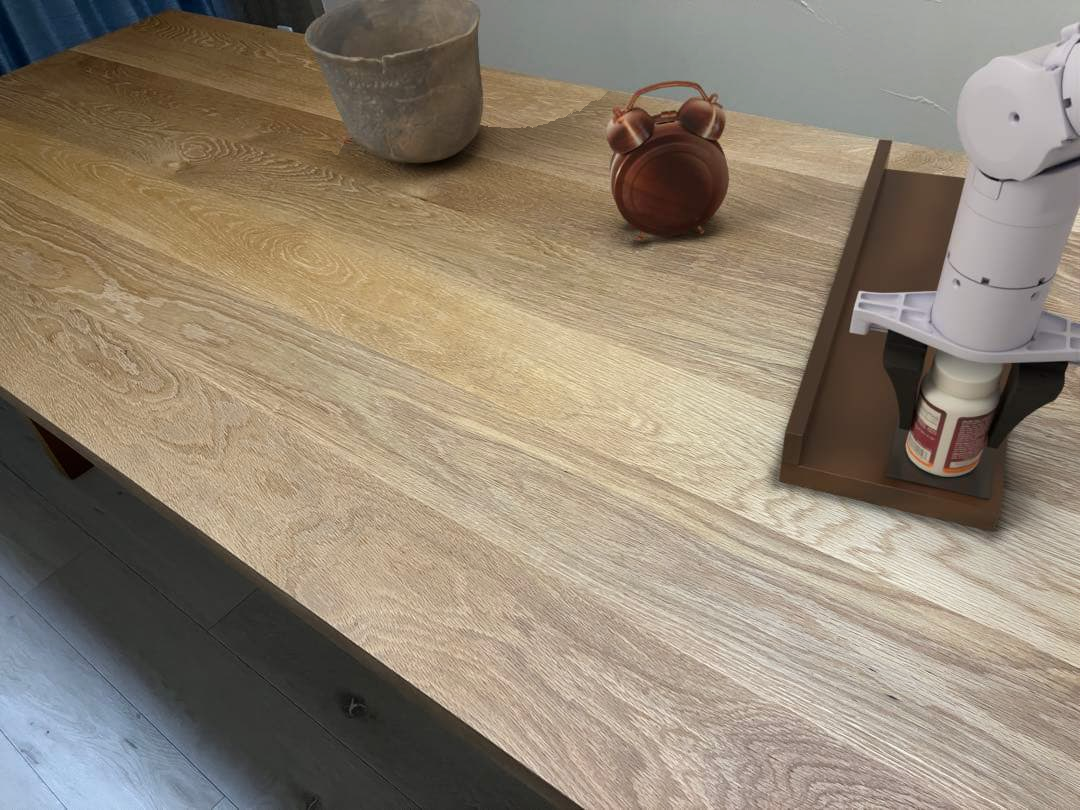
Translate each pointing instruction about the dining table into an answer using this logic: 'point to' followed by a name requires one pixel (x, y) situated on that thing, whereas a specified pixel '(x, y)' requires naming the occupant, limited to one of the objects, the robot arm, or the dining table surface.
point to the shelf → (857, 365)
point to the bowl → (403, 74)
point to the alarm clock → (668, 163)
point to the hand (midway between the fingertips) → (949, 428)
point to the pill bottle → (953, 414)
